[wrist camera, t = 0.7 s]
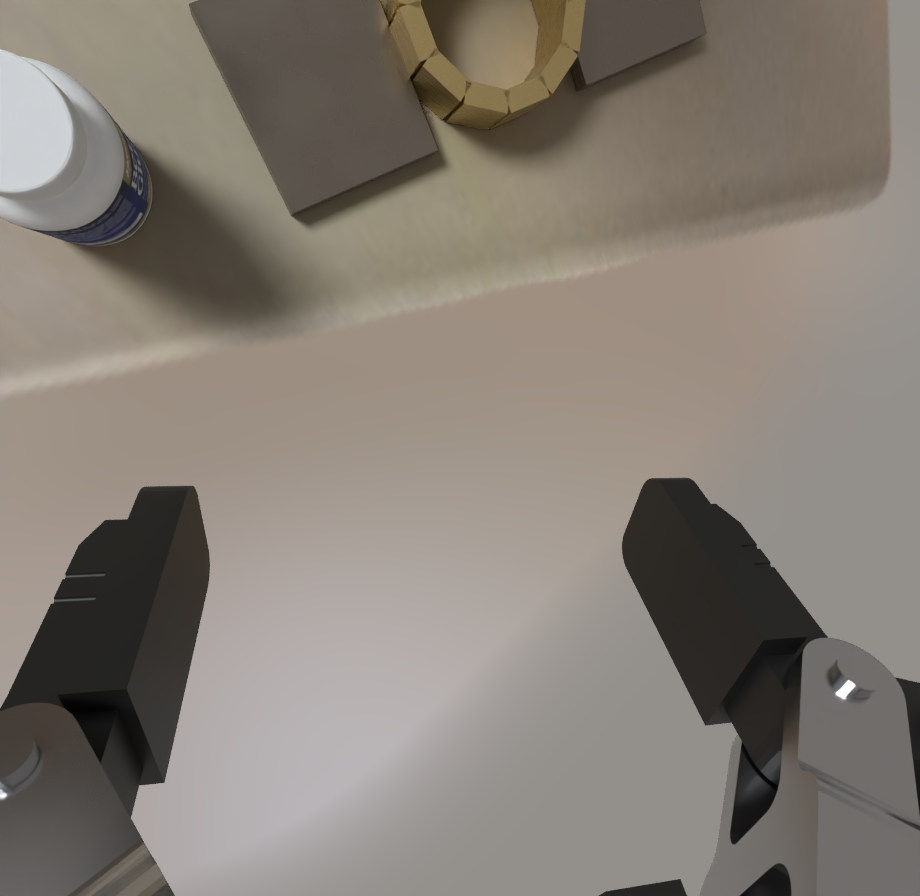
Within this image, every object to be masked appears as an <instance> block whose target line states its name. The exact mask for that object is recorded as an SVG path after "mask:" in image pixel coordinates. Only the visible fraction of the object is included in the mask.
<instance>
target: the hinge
mask: <svg viewBox="0 0 920 896" xmlns="http://www.w3.org/2000/svg"><path fill="white" fill-rule="evenodd" d="M531 1H532V4H533V8H534V11H535V14H536V17H537V20H538V24H539V32H538V41H537V50H536V59H535V66H534V68H533V69H532V71H531V72H530V74H529V75H528V77H527V78H526V80H525V81H524V83H521V84H519V85H517V86H514V87H512V88H510V89H507V90H505V89H501V88H497V87H493V86H489V85H484V84H480V83H476V82H472V81H469V80H468V79H467V78H466V77H465V76H464V75H463V74H462V73H461V72H460V71H459V70H458V69H457V68H456V67H455V66H454V65H453V64H452V63H451V62H450V61H449V60H448V59H446V58H445V57H444V56H443V55H442V54H441V53H440V52H439V51H438V49H437V46H436V44H435V41H434V38H433V36H432V33H431V30H430V28H429V25H428V22H427V20H426V17H425V14H424V11H423V9H422V6H421V0H387V6H386V16H385V13H384V11H383V8H382V6H381V3H380V1H379V0H198V1H195V2H193V3H190V4H189V7H190V11H191V15H192V17H193V19H194V21H195V23H196V25H197V27H198V29H199V31H200V33H201V35H202V37H203V39H204V41H205V43H206V45H207V47H208V49H209V51H210V53H211V55H212V57H213V59H214V61H215V63H216V65H217V67H218V69H219V71H220V73H221V75H222V77H223V79H224V81H225V83H226V85H227V87H228V89H229V91H230V93H231V95H232V97H233V99H234V101H235V103H236V105H237V107H238V109H239V111H240V113H241V115H242V117H243V120H244V122H245V124H246V126H247V128H248V130H249V132H250V134H251V136H252V138H253V140H254V142H255V144H256V146H257V148H258V150H259V152H260V154H261V156H262V158H263V160H264V162H265V164H266V166H267V168H268V170H269V172H270V174H271V176H272V178H273V180H274V182H275V184H276V186H277V188H278V190H279V192H280V194H281V196H282V198H283V200H284V202H285V204H286V206H287V208H288V210H289V212H290V214H291V216H293V215H295V214H297V213H300V212H302V211H304V210H307V209H309V208H311V207H313V206H316V205H318V204H320V203H323V202H325V201H327V200H329V199H332V198H334V197H336V196H339V195H341V194H343V193H345V192H348V191H350V190H352V189H355V188H357V187H359V186H362V185H364V184H366V183H368V182H371V181H373V180H375V179H378V178H380V177H382V176H384V175H387V174H389V173H391V172H394V171H396V170H398V169H400V168H403V167H405V166H407V165H410V164H412V163H414V162H417V161H419V160H421V159H423V158H426V157H428V156H430V155H433V154H434V153H435V152H436V151H437V150H438V148H437V145H436V143H435V140H434V138H433V135H432V133H431V130H430V128H429V125H428V123H427V120H426V117H425V115H424V112H423V110H422V107H421V105H420V102H419V100H418V98H419V99H420V100H421V101H422V102H423V103H424V104H425V105H426V106H428V107H429V108H430V109H431V110H432V111H433V112H434V113H435V114H436V115H437V116H438V117H440V118H441V119H442V120H443V119H444V118H445V117H446V122H449V123H454V124H459V125H463V126H468V127H473V128H478V129H482V130H486V129H488V128H489V130H490V129H492V128H494V127H497V126H499V125H501V124H504V123H506V122H508V121H510V120H513V119H515V118H517V117H520V116H522V115H524V114H526V113H527V112H529V111H530V110H531V109H533V108H534V107H536V106H537V105H538V104H540V103H541V102H543V101H544V100H545V99H547V98H548V97H550V95H552V94H553V93H554V91H555V90H556V88H557V87H558V85H559V84H560V82H561V81H562V79H563V78H564V76H565V75H566V73H567V71H568V70H569V68H570V69H571V73H572V76H573V79H574V83H575V86H576V89H577V91H579V90H581V89H584V88H586V87H588V86H591V85H593V84H595V83H598V82H600V81H602V80H604V79H607V78H609V77H611V76H614V75H616V74H618V73H620V72H623V71H625V70H627V69H630V68H632V67H634V66H636V65H639V64H641V63H643V62H646V61H648V60H650V59H653V58H655V57H657V56H659V55H662V54H664V53H666V52H669V51H671V50H673V49H675V48H678V47H680V46H682V45H685V44H687V43H689V42H691V41H694V40H695V39H697V38H699V37H700V36H702V35H704V34H705V33H706V29H705V25H704V21H703V16H702V12H701V7H700V3H699V0H531Z"/></svg>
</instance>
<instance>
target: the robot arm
mask: <svg viewBox="0 0 920 896" xmlns="http://www.w3.org/2000/svg"><path fill="white" fill-rule="evenodd" d="M756 546H757V544H756V543H755V541H754V540H753V539H752V538H751V536H750V535H749V534H748V532H747V531H746V530H745V529H744V527H743V526H742V524H741V523H740V522H739V521H737V520H736V519H735V518H733V517H732V516H731V515H730V514H728V513H727V512H726V511H724V510H723V509H722V508H721V507H719V506H718V505H717V504H710V502H709V501H708V499H707V498H706V497H705V495H704V494H703V493H702V491H701V490H700V489H699V487H698V486H697V484H696V483H695V482H694V481H693V480H691V479H689V478H652V479H649V480H647V481H646V482H645V483H644V485H643V487H642V489H641V492H640V494H639V497H638V500H637V502H636V505H635V507H634V510H633V513H632V515H631V518H630V520H629V523H628V525H627V528H626V531H625V533H624V536H623V542H622V553H623V559H624V563H625V566H626V568H627V570H628V572H629V574H630V576H631V578H632V580H633V582H634V584H635V586H636V588H637V590H638V592H639V594H640V596H641V598H642V600H643V602H644V604H645V606H646V608H647V610H648V612H649V614H650V616H651V618H652V620H653V622H654V624H655V626H656V628H657V630H658V632H659V634H660V636H661V638H662V640H663V642H664V644H665V646H666V648H667V650H668V652H669V654H670V656H671V658H672V660H673V662H674V664H675V666H676V668H677V670H678V672H679V674H680V676H681V678H682V680H683V682H684V684H685V686H686V688H687V690H688V692H689V694H690V696H691V698H692V700H693V702H694V704H695V706H696V708H697V709H698V712H699V714H700V715H701V718H702V720H703V721H704V723H705V725H713V724H722V723H730V722H732V724H733V726H734V728H735V729H736V731H737V733H738V735H737V736H736V738H735V739H734V741H733V744H732V748H731V754H730V761H729V768H728V775H727V782H726V789H725V796H724V803H723V810H722V817H721V824H720V831H719V838H718V845H717V849H716V853H715V857H714V860H713V863H712V865H711V867H710V869H709V872H708V874H707V876H706V878H705V881H704V884H703V886H702V889H701V893H700V896H920V683H917V682H913V681H908V680H903V679H899V678H895V677H894V676H893V675H892V673H891V672H890V671H889V670H888V669H887V668H886V667H885V666H884V665H883V664H882V663H881V662H880V661H879V660H877V659H876V658H875V657H873V656H872V655H871V654H869V653H868V652H866V651H864V650H863V649H861V648H859V647H857V646H855V645H853V644H851V643H848V642H846V641H842V640H839V639H834V638H828V637H827V636H826V635H825V633H824V632H823V631H822V629H821V628H820V627H819V625H818V624H817V623H816V622H815V620H814V619H813V618H812V616H811V615H810V614H809V613H808V611H807V610H806V608H805V607H804V606H803V605H802V603H801V602H800V601H799V599H798V598H797V597H796V595H795V594H794V593H793V591H792V590H791V589H790V587H789V586H788V585H787V583H786V582H785V581H784V580H783V579H782V577H781V576H780V574H779V573H778V572H777V571H776V569H775V568H774V567H771V566H770V561H769V560H768V559H767V557H766V556H765V555H764V553H763V552H762V551H761V549H757V547H756ZM209 570H210V562H209V550H208V545H207V540H206V535H205V530H204V525H203V520H202V515H201V510H200V505H199V500H198V495H197V492H196V489H195V488H194V486H158V487H143V488H142V489H141V490H140V491H139V493H138V495H137V498H136V500H135V503H134V505H133V508H132V510H131V513H130V515H129V518H128V519H127V520H105V521H104V522H103V523H102V524H101V525H100V526H99V527H98V528H97V529H95V530H94V531H93V532H92V533H91V534H90V535H89V536H88V537H87V538H86V539H85V540H84V541H83V542H82V543H81V544H80V545H79V546H78V548H77V550H76V552H75V554H74V557H73V559H72V561H71V563H70V565H69V567H68V569H67V571H66V573H65V574H66V578H65V579H63V580H62V582H61V584H60V586H59V588H58V590H57V592H56V594H55V597H54V604H51V605H50V607H49V609H48V612H47V614H46V616H45V618H44V620H43V622H42V624H41V626H40V628H39V630H38V632H37V635H36V637H35V639H34V641H33V643H32V645H31V647H30V649H29V651H28V654H27V656H26V658H25V660H24V662H23V664H22V666H21V668H20V670H19V672H18V675H17V677H16V679H15V681H14V683H13V685H12V687H11V689H10V691H9V694H8V696H7V698H6V699H5V701H4V703H3V705H2V706H1V708H0V896H175V895H174V893H173V892H172V890H171V888H170V886H169V885H168V883H167V881H166V879H165V878H164V876H163V874H162V872H161V870H160V868H159V867H158V865H157V863H156V862H155V860H154V858H153V857H152V855H151V854H150V852H149V850H148V848H147V847H146V845H145V843H144V841H143V840H142V838H141V836H140V834H139V832H138V831H137V829H136V827H135V825H134V823H133V821H132V820H131V815H132V811H133V807H134V803H135V799H136V795H137V791H138V787H139V785H146V784H156V783H164V782H165V777H166V773H167V768H168V764H169V759H170V755H171V750H172V746H173V741H174V737H175V732H176V728H177V723H178V719H179V714H180V710H181V705H182V701H183V696H184V692H185V687H186V683H187V678H188V674H189V669H190V665H191V660H192V656H193V651H194V647H195V642H196V637H197V633H198V629H199V624H200V620H201V615H202V611H203V606H204V601H205V597H206V593H207V588H208V582H209ZM599 896H687V895H686V892H685V890H684V887H683V885H682V882H681V880H680V879H678V880H672V881H666V882H661V883H655V884H649V885H642V886H636V887H630V888H625V889H618V890H613V891H606V892H604V893H603V894H601V895H599Z"/></svg>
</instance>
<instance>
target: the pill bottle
mask: <svg viewBox="0 0 920 896" xmlns="http://www.w3.org/2000/svg"><path fill="white" fill-rule="evenodd" d="M152 191H153V190H152V182H151V178H150V174H149V171H148V169H147V166H146V164H145V162H144V160H143V158H142V156H141V154H140V153H139V152H138V150H137V149H136V147H135V146H134V145H133V143H132V142H131V141H130V140H129V138H128V137H127V136H126V135H125V133H124V132H123V131H122V129H121V128H120V127H119V126H118V124H117V123H116V122H115V121H114V120H113V118H112V117H111V116H110V114H109V113H108V112H107V110H106V109H105V108H104V107H103V106H102V105H101V103H100V102H99V101H98V100H97V99H96V98H95V97H94V96H93V95H92V94H91V93H90V92H89V91H88V90H87V89H86V88H84V87H83V86H82V85H81V84H80V83H79V82H77V81H76V80H75V79H73V78H72V77H70V76H69V75H67V74H66V73H64V72H62V71H61V70H59V69H57V68H55V67H53V66H51V65H49V64H46V63H43V62H41V61H38V60H34V59H30V58H25V57H19V56H17V55H15V54H13V53H10V52H7V51H5V50H2V49H0V218H3V219H5V220H7V221H8V222H10V223H13V224H16V225H18V226H21V227H24V228H27V229H31V230H34V231H37V232H40V233H43V234H46V235H49V236H52V237H55V238H58V239H61V240H64V241H67V242H70V243H74V244H79V245H85V246H107V245H112V244H115V243H118V242H121V241H123V240H125V239H127V238H128V237H130V236H132V235H133V234H134V233H135V232H136V231H137V230H138V229H139V228H140V227H141V226H142V225H143V223H144V221H145V220H146V218H147V216H148V214H149V211H150V208H151V204H152Z"/></svg>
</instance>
